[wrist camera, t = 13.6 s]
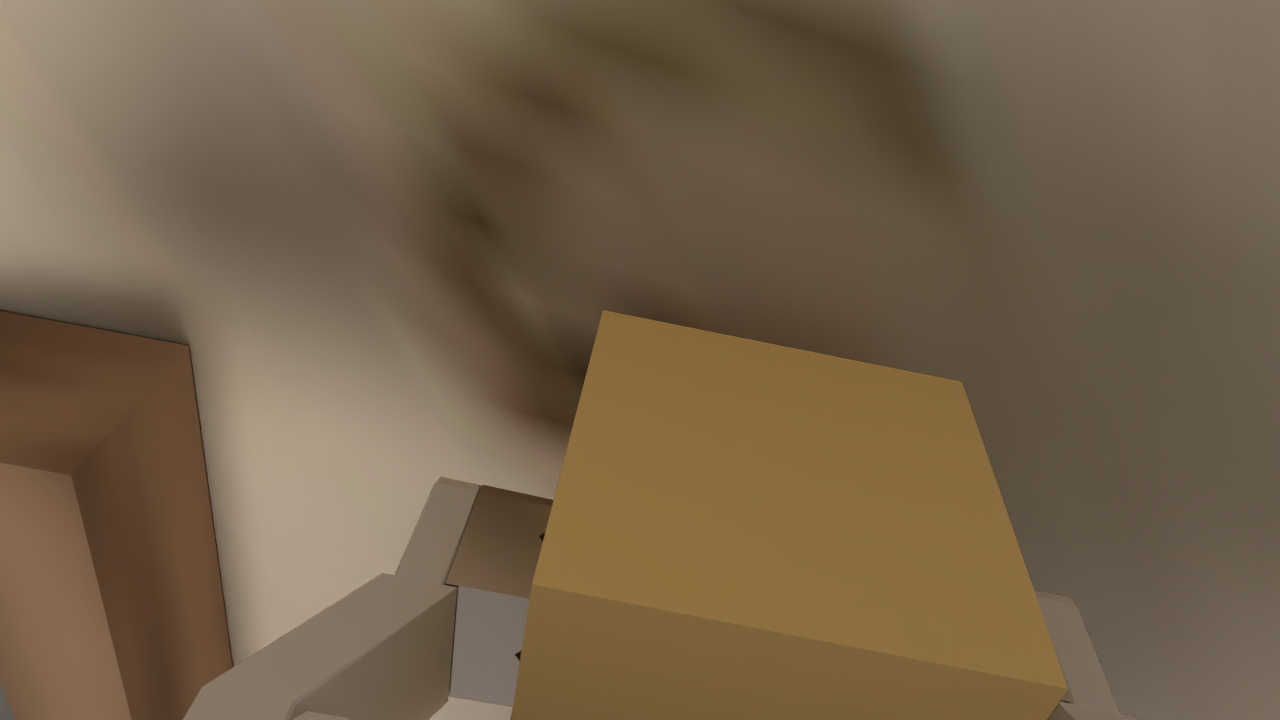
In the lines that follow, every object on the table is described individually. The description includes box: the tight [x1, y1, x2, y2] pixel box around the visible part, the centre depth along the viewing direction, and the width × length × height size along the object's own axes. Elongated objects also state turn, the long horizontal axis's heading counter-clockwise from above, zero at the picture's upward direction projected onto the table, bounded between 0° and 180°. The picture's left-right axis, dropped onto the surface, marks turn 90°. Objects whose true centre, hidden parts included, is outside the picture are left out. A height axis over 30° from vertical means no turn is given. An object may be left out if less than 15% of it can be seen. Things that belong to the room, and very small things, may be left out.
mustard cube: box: [511, 310, 1068, 720], centre depth 11 cm, size 4×4×4 cm
